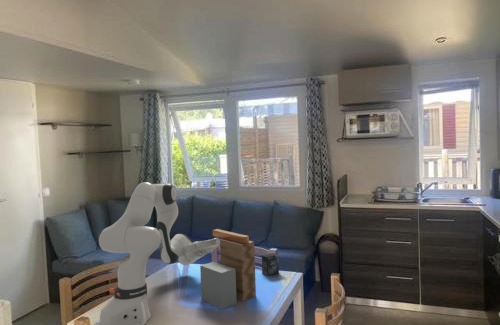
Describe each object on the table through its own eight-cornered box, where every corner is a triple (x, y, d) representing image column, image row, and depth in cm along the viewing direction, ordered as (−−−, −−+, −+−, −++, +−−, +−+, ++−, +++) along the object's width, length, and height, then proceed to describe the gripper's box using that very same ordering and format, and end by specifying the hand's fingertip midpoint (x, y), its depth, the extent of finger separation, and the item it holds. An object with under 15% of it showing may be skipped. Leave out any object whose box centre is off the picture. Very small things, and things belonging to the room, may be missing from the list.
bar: (244, 243, 180) (243, 237, 180) (212, 235, 198) (212, 230, 198) (248, 242, 182) (248, 236, 182) (217, 234, 200) (217, 229, 200)
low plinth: (222, 308, 171) (221, 272, 170) (201, 299, 183) (200, 265, 182) (236, 303, 176) (235, 268, 175) (215, 294, 188) (213, 261, 187)
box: (267, 276, 212) (267, 257, 211) (261, 273, 216) (261, 254, 216) (279, 273, 216) (278, 254, 216) (273, 270, 221) (272, 252, 220)
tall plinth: (243, 301, 179) (241, 245, 178) (221, 292, 191) (219, 239, 190) (255, 296, 184) (254, 241, 183) (234, 287, 196) (232, 236, 195)
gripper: (178, 248, 206) (191, 238, 196) (210, 241, 219) (223, 231, 210) (182, 259, 203) (195, 250, 194) (213, 251, 217) (227, 242, 208)
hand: (209, 240), depth 202 cm, fingers open, 8 cm apart
